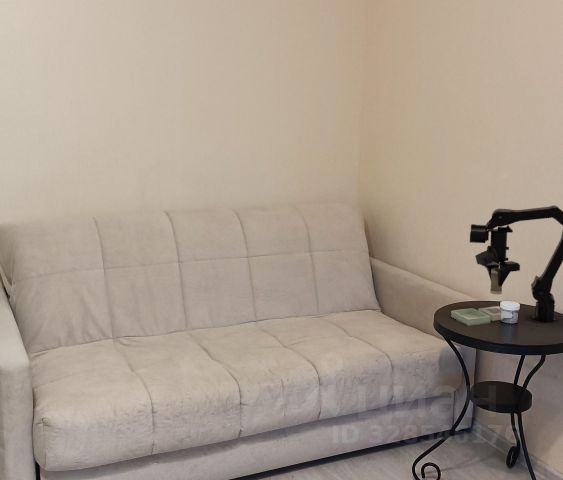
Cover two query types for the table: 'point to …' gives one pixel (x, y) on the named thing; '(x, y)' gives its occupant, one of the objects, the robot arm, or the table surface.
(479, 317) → the tray
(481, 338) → the table surface
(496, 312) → the socket block
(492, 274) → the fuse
